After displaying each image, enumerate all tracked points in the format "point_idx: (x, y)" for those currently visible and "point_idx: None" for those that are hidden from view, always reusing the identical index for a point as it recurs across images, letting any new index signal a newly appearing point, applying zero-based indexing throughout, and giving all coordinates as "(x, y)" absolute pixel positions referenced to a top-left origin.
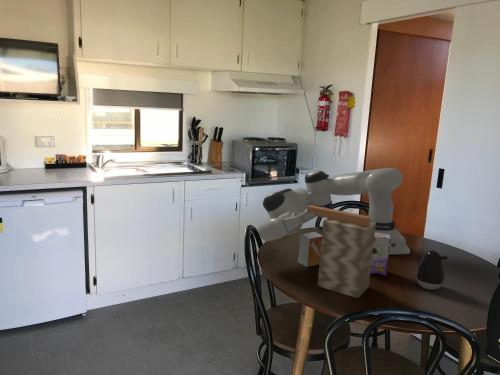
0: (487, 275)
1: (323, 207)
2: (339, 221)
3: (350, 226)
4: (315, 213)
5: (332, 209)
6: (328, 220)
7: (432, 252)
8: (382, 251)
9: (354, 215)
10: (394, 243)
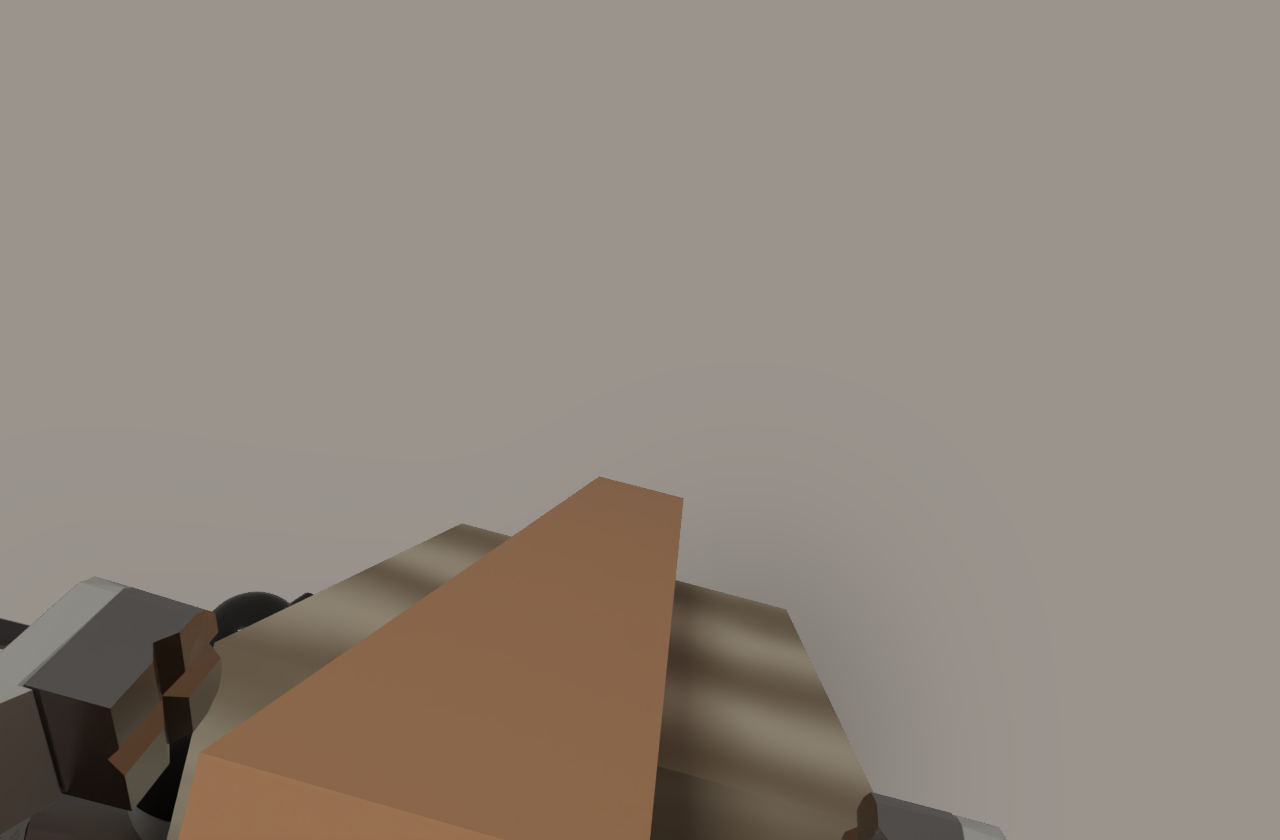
0: (5, 635)
1: (187, 604)
2: (682, 681)
3: (791, 651)
4: (862, 823)
5: (523, 543)
6: (768, 768)
7: (283, 607)
8: (5, 833)
9: (664, 511)
10: None
